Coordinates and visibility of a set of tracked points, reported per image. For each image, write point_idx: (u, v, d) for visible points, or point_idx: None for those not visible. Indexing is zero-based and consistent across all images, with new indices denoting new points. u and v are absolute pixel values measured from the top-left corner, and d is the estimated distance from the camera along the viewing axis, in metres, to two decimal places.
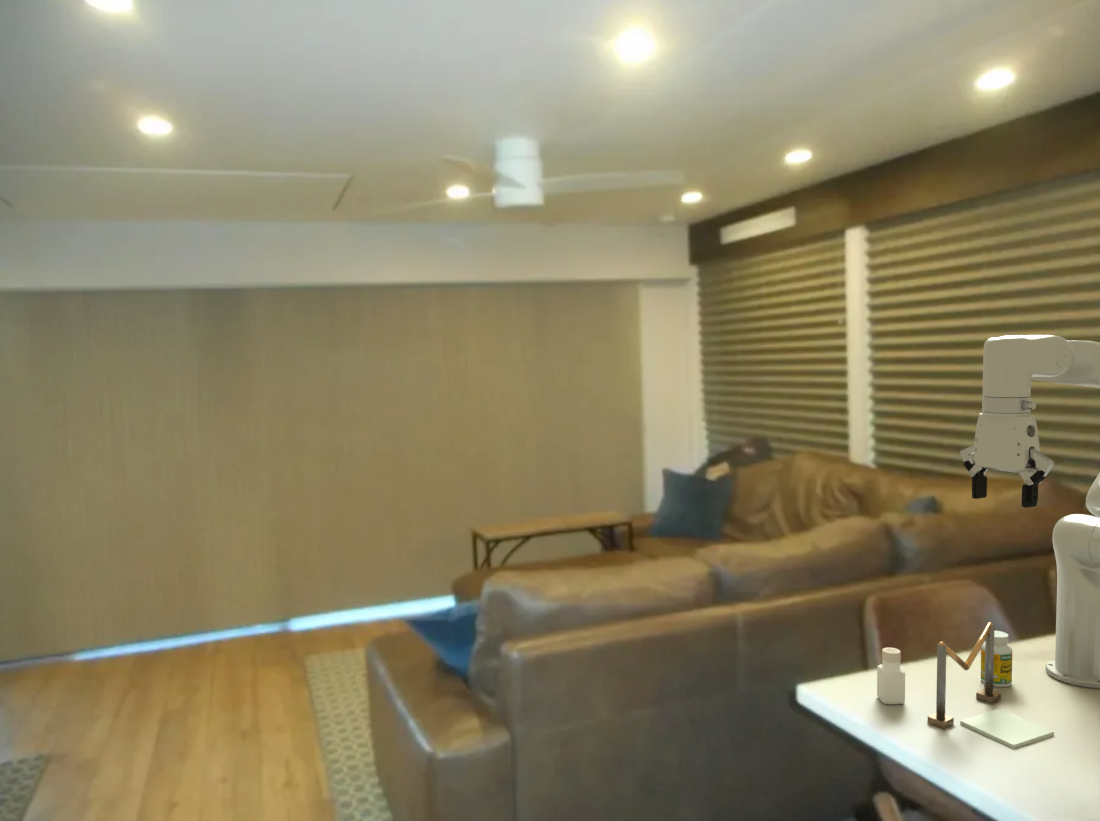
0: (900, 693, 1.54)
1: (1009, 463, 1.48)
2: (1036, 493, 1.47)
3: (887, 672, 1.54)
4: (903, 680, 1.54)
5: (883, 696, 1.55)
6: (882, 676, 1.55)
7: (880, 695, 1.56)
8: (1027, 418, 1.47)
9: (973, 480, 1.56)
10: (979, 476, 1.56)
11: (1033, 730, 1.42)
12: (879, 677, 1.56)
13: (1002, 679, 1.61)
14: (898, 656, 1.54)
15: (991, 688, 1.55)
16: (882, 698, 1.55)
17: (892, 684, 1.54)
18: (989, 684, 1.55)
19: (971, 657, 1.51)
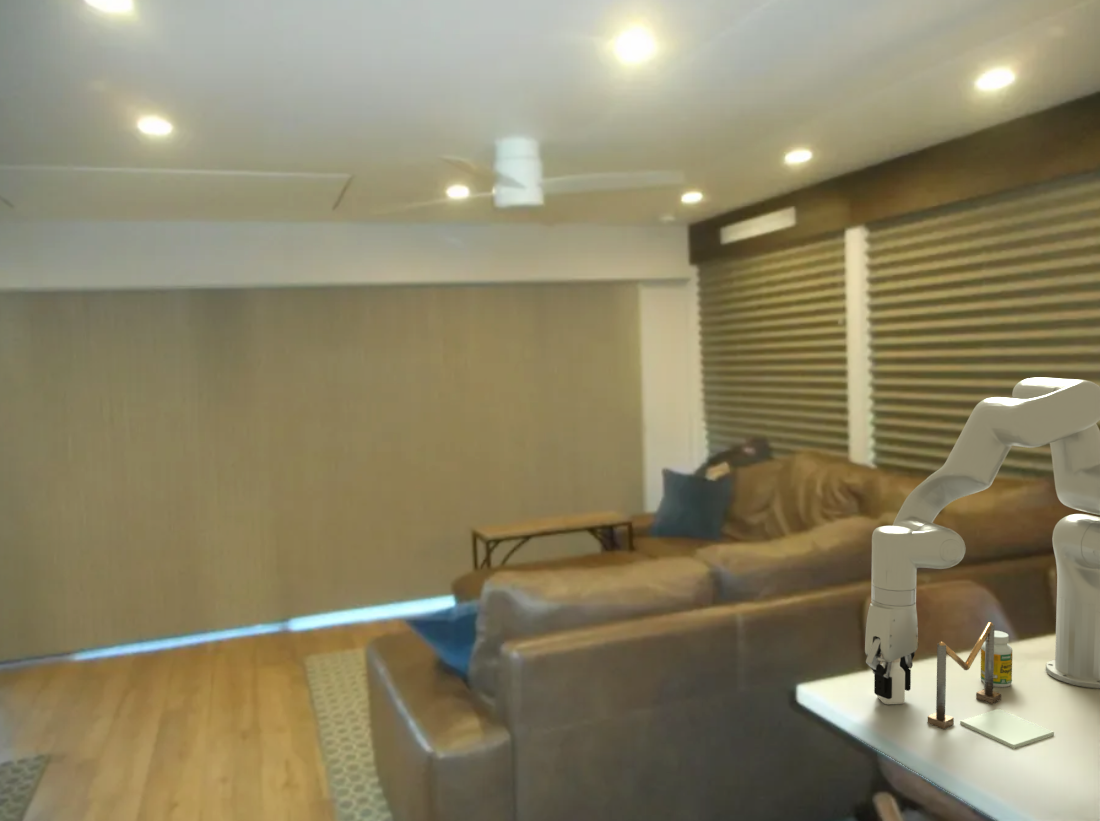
0: (900, 693, 1.54)
1: (911, 646, 1.55)
2: None
3: None
4: (903, 680, 1.54)
5: None
6: None
7: None
8: None
9: (890, 681, 1.53)
10: None
11: (1033, 730, 1.42)
12: None
13: (1002, 679, 1.61)
14: None
15: (991, 688, 1.55)
16: (882, 698, 1.55)
17: (892, 684, 1.54)
18: (989, 684, 1.55)
19: (971, 657, 1.51)
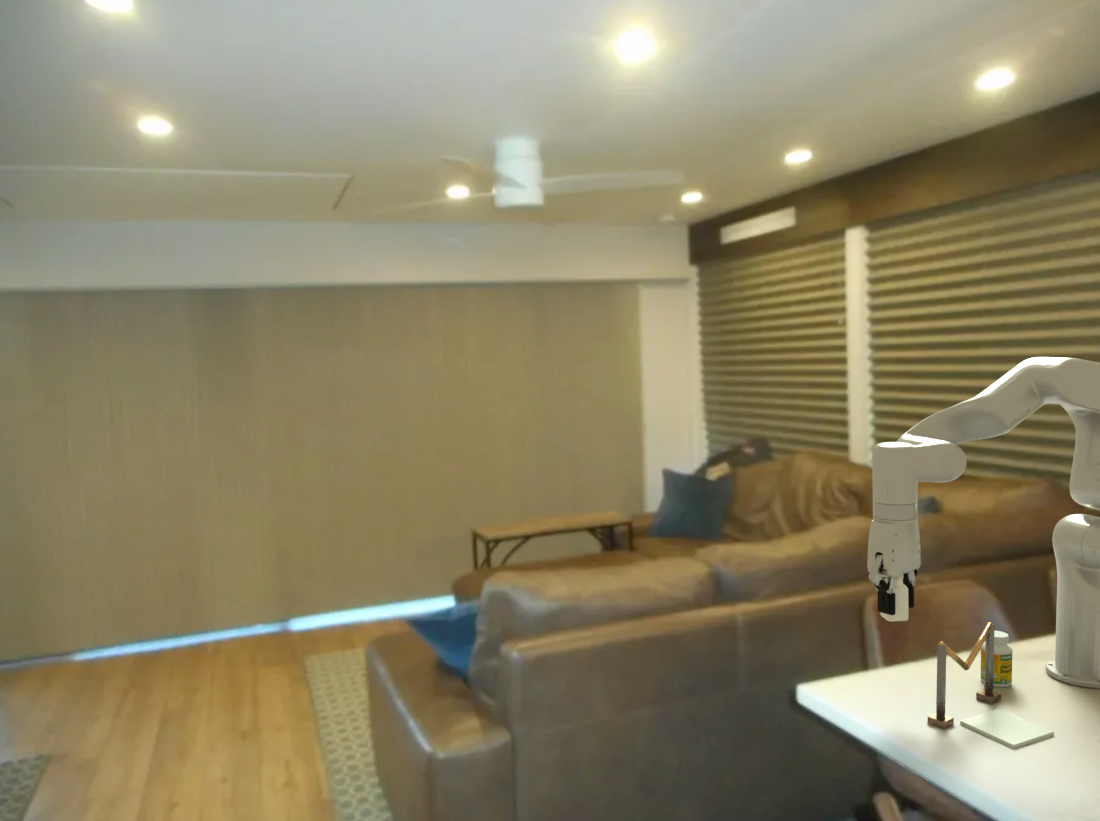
0: (903, 610, 1.53)
1: (914, 563, 1.54)
2: None
3: None
4: (906, 596, 1.53)
5: None
6: None
7: (883, 613, 1.55)
8: None
9: (894, 596, 1.51)
10: None
11: (1033, 730, 1.42)
12: None
13: (1002, 679, 1.61)
14: None
15: (991, 688, 1.55)
16: (885, 616, 1.54)
17: (895, 601, 1.53)
18: (989, 684, 1.55)
19: (971, 657, 1.51)
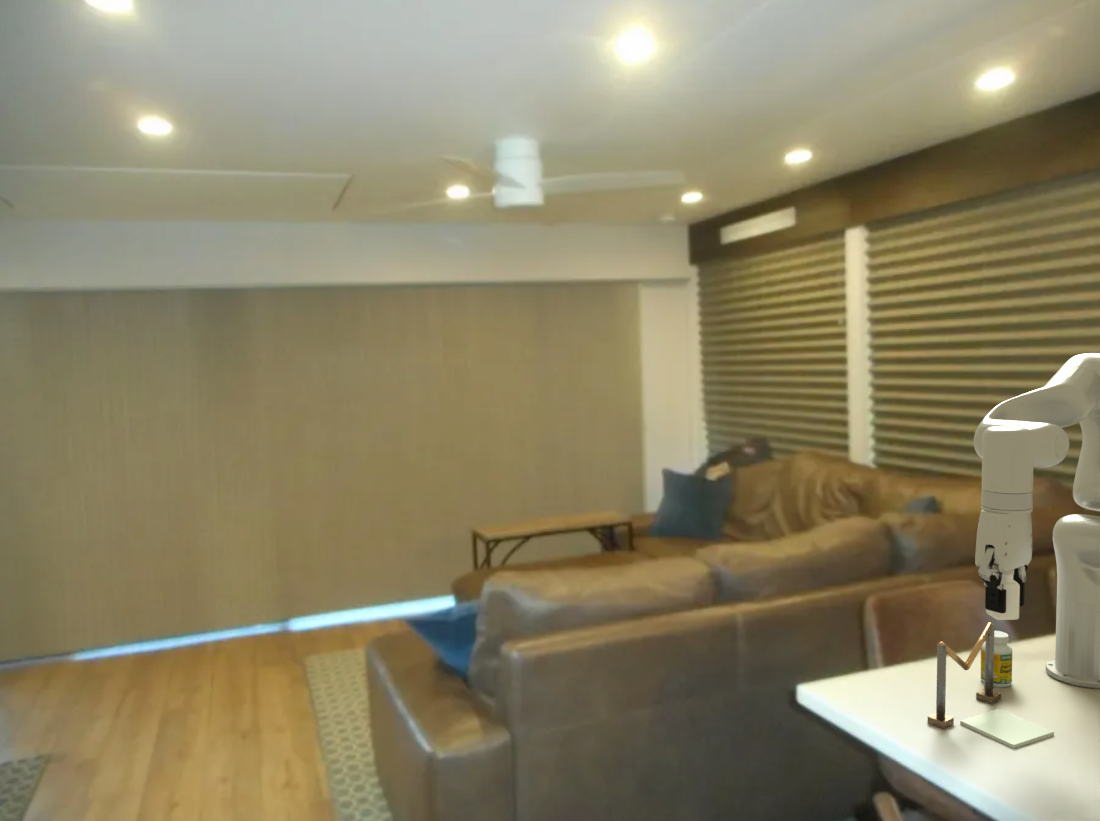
0: (1014, 608, 1.41)
1: (1026, 557, 1.42)
2: None
3: None
4: (1017, 593, 1.41)
5: None
6: None
7: (991, 611, 1.43)
8: None
9: (1005, 593, 1.40)
10: None
11: (1033, 730, 1.42)
12: None
13: (1002, 679, 1.61)
14: None
15: (991, 688, 1.55)
16: (993, 614, 1.42)
17: None
18: (989, 684, 1.55)
19: (971, 657, 1.51)
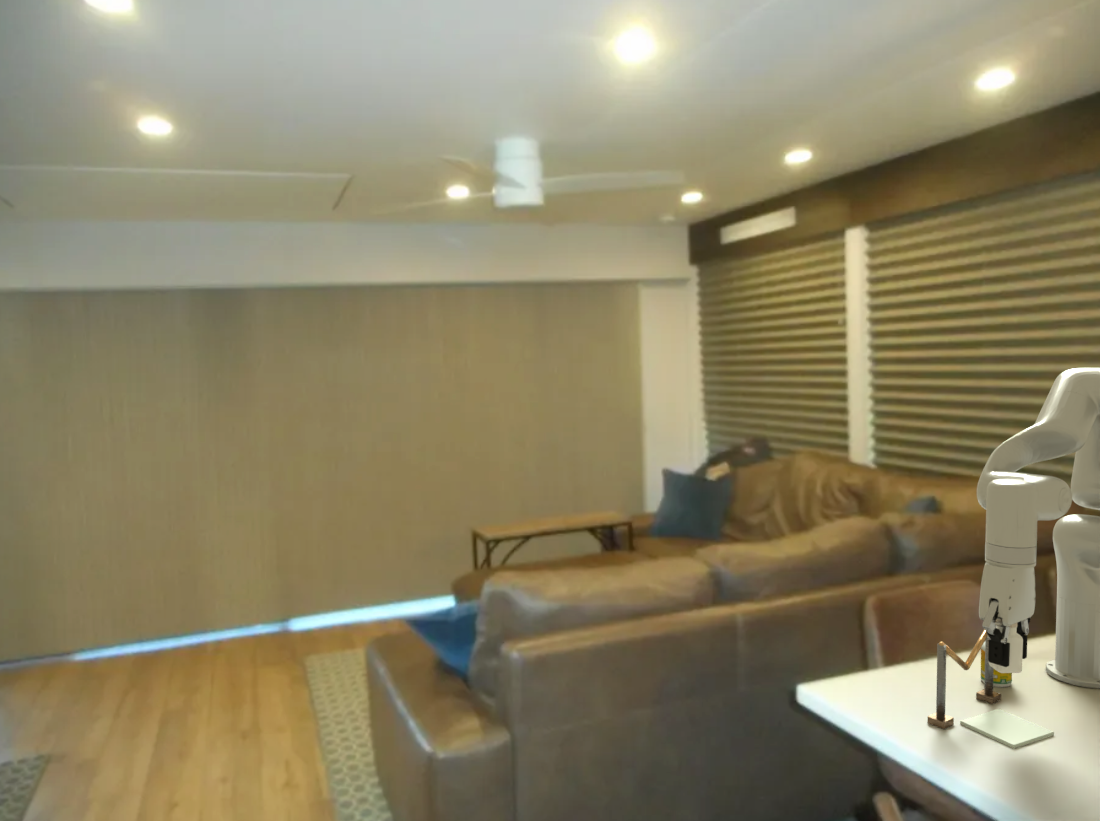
0: (1017, 661, 1.41)
1: (1029, 610, 1.42)
2: None
3: None
4: (1021, 647, 1.41)
5: None
6: None
7: None
8: None
9: (1008, 647, 1.40)
10: None
11: (1033, 730, 1.42)
12: None
13: (1002, 679, 1.61)
14: None
15: (991, 688, 1.55)
16: (997, 666, 1.42)
17: None
18: (989, 684, 1.55)
19: (971, 657, 1.51)
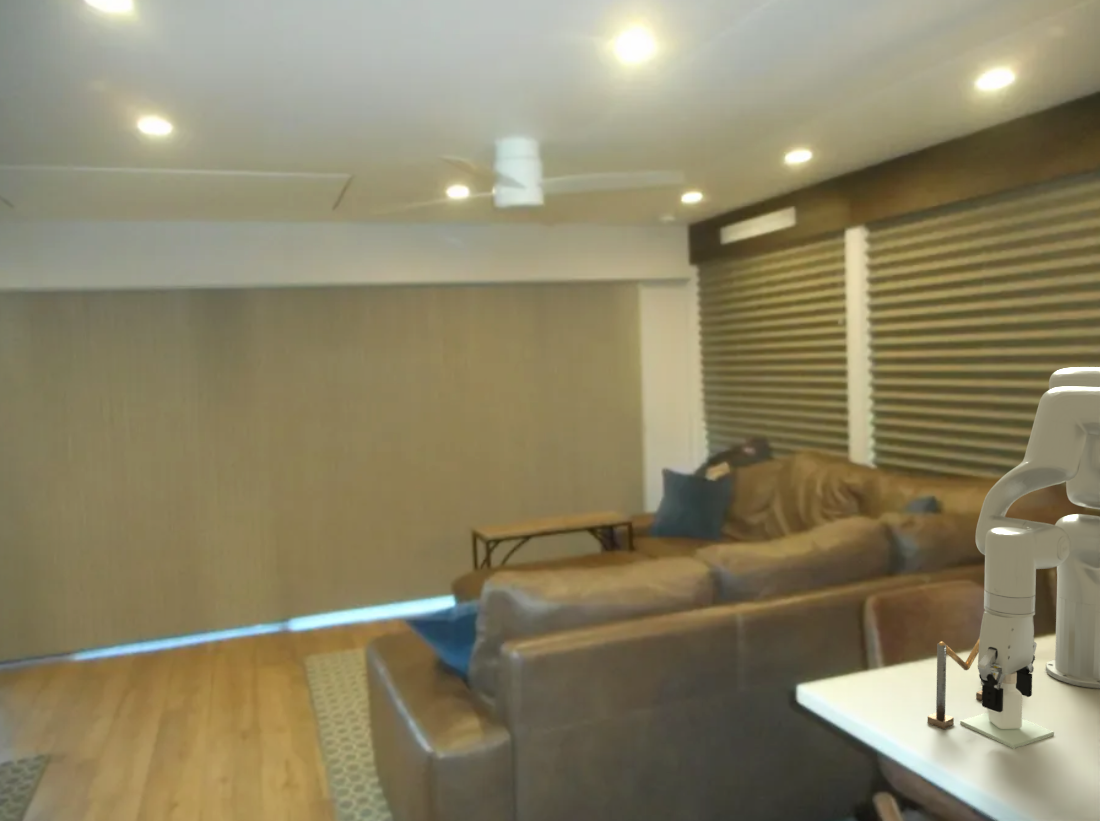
0: (1017, 717, 1.42)
1: (1028, 658, 1.43)
2: None
3: (1003, 695, 1.42)
4: (1020, 703, 1.42)
5: (998, 720, 1.43)
6: None
7: (993, 719, 1.44)
8: None
9: (1002, 692, 1.39)
10: None
11: (1033, 730, 1.42)
12: None
13: None
14: (1014, 677, 1.42)
15: None
16: (996, 722, 1.43)
17: (1008, 707, 1.42)
18: None
19: (971, 657, 1.51)
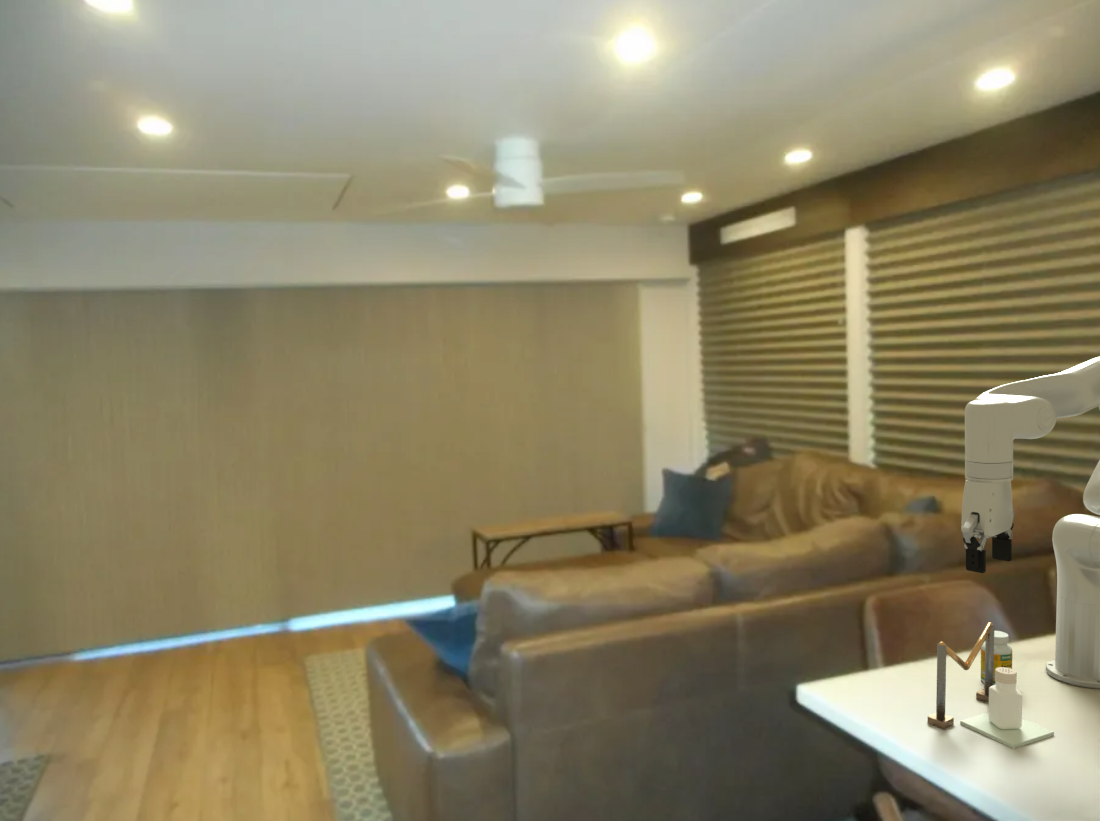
0: (1017, 717, 1.42)
1: (1008, 523, 1.50)
2: None
3: (1003, 695, 1.42)
4: (1020, 703, 1.42)
5: (998, 720, 1.43)
6: (997, 699, 1.43)
7: (993, 719, 1.44)
8: None
9: (984, 554, 1.47)
10: None
11: (1033, 730, 1.42)
12: (992, 699, 1.44)
13: None
14: (1014, 677, 1.42)
15: None
16: (996, 722, 1.43)
17: (1008, 707, 1.42)
18: (989, 684, 1.55)
19: (971, 657, 1.51)
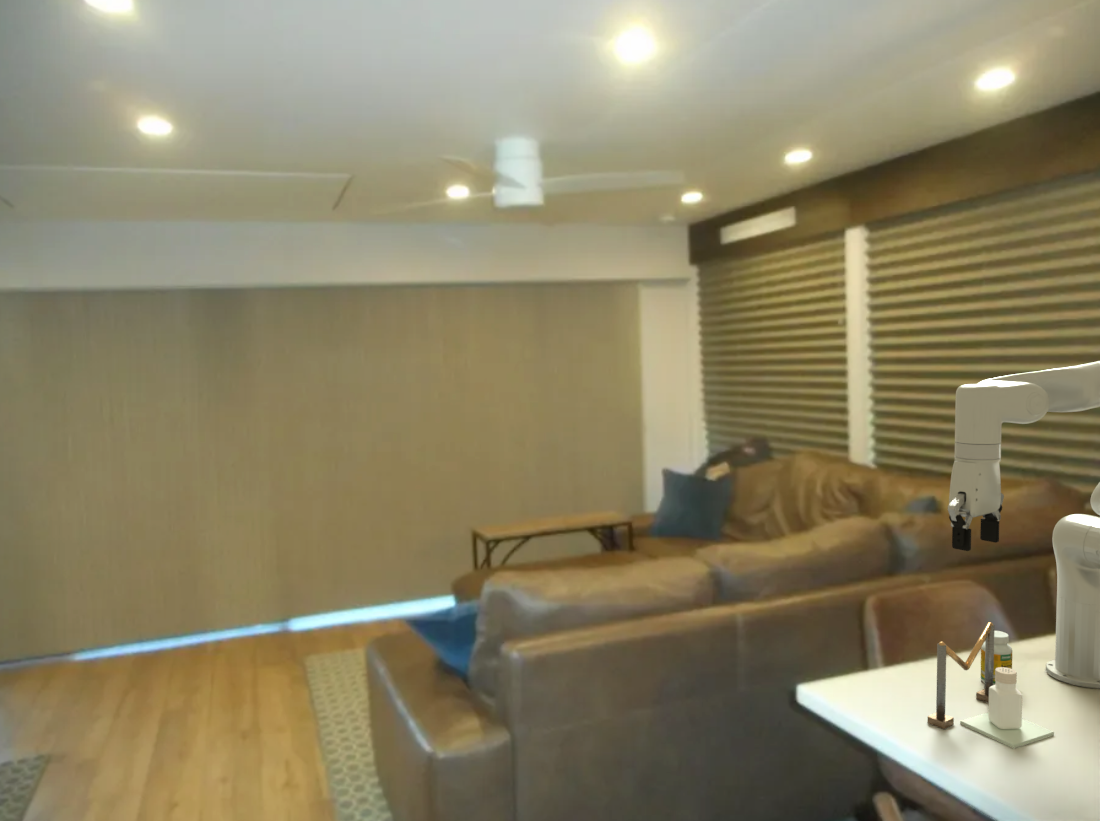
0: (1017, 717, 1.42)
1: (995, 504, 1.55)
2: None
3: (1003, 695, 1.42)
4: (1020, 703, 1.42)
5: (998, 720, 1.43)
6: (997, 699, 1.43)
7: (993, 719, 1.44)
8: None
9: (970, 532, 1.51)
10: None
11: (1033, 730, 1.42)
12: (992, 699, 1.44)
13: None
14: (1014, 677, 1.42)
15: None
16: (996, 722, 1.43)
17: (1008, 707, 1.42)
18: (989, 684, 1.55)
19: (971, 657, 1.51)
